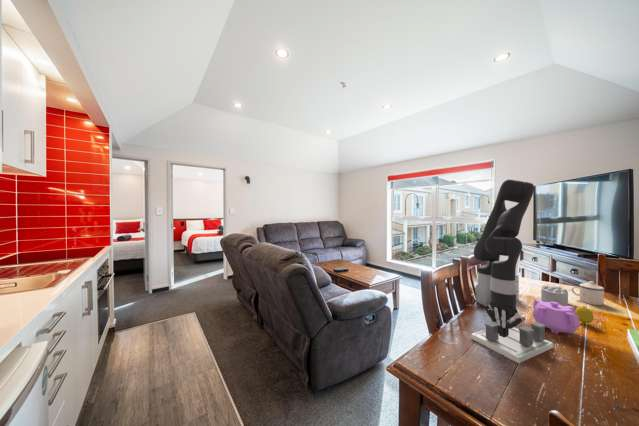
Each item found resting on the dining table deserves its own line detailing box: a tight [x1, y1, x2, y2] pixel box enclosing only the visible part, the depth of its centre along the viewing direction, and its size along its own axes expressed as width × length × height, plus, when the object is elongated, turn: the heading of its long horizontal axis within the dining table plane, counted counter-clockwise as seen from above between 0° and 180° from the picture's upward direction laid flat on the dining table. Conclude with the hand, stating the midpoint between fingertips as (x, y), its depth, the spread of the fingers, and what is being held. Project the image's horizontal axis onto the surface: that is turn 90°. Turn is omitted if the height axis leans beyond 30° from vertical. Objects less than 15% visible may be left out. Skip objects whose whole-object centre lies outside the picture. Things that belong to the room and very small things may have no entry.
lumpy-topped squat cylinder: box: [540, 284, 569, 306], centre depth 126 cm, size 10×13×9 cm
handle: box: [530, 321, 547, 342], centre depth 86 cm, size 3×4×6 cm
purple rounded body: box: [532, 299, 581, 335], centre depth 98 cm, size 18×17×12 cm
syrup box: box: [515, 273, 520, 301], centre depth 132 cm, size 6×6×14 cm
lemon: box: [574, 305, 594, 325], centre depth 102 cm, size 6×6×8 cm
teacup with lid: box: [571, 280, 606, 306], centre depth 127 cm, size 12×9×12 cm
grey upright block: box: [484, 320, 498, 342], centre depth 87 cm, size 3×4×6 cm
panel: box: [470, 327, 554, 364], centre depth 88 cm, size 16×22×2 cm
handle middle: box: [518, 325, 534, 347], centre depth 83 cm, size 3×4×6 cm
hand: (502, 336), depth 83 cm, fingers closed
